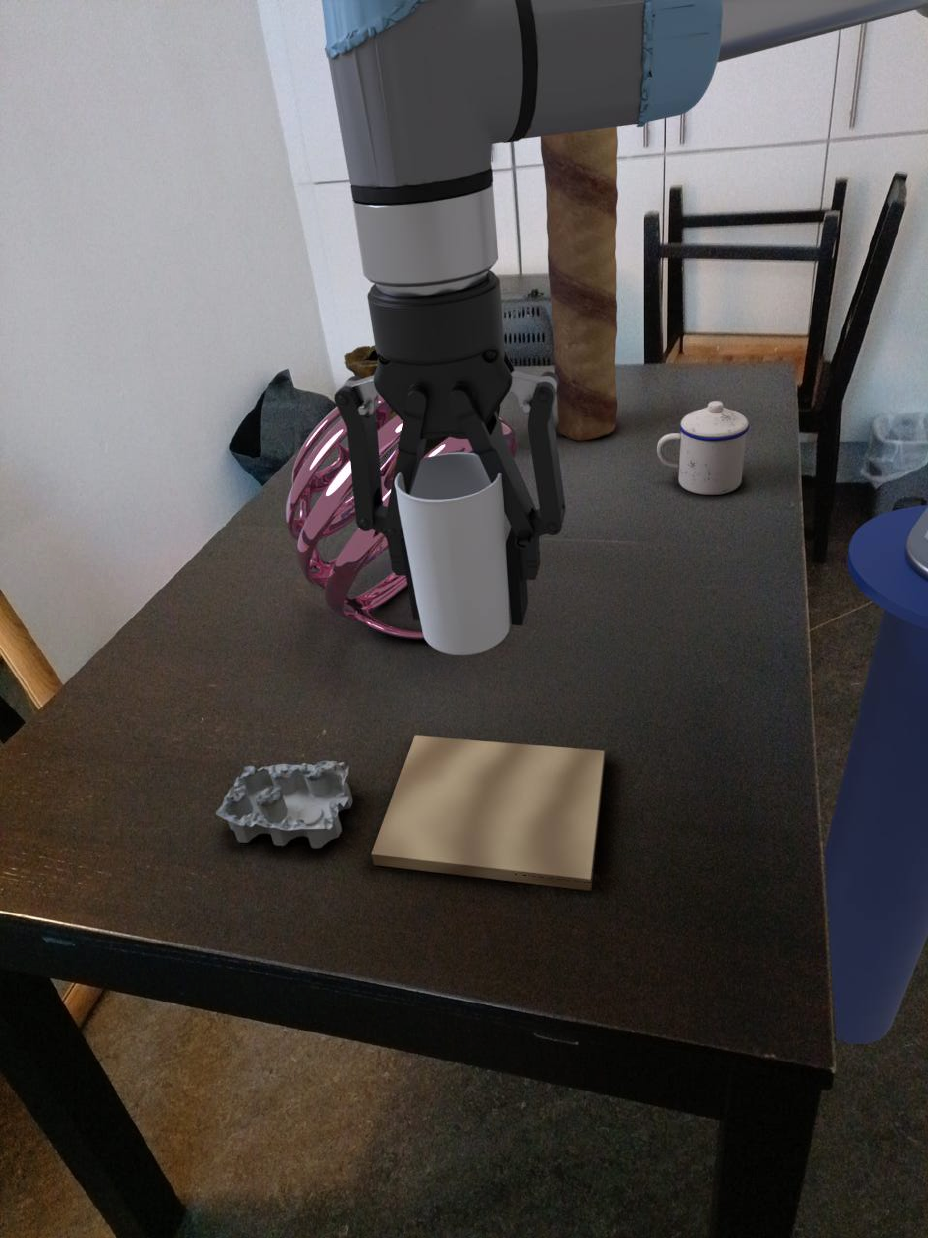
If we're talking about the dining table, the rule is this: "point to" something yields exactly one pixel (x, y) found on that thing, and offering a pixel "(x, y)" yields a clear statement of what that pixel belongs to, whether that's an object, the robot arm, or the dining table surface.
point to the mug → (457, 552)
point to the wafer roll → (583, 276)
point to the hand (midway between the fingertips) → (470, 610)
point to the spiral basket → (351, 516)
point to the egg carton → (288, 802)
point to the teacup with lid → (709, 450)
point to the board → (495, 812)
